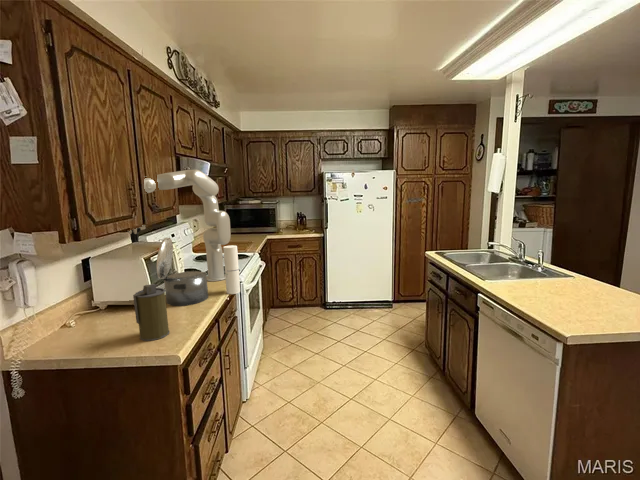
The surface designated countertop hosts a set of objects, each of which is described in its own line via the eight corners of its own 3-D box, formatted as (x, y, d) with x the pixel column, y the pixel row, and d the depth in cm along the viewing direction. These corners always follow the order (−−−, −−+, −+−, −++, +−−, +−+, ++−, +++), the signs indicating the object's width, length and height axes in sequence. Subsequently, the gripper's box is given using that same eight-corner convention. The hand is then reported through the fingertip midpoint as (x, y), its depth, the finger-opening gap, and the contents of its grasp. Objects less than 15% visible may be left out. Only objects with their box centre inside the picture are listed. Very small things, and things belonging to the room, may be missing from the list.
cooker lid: (171, 273, 177) (165, 272, 177) (174, 235, 175) (168, 234, 174) (157, 284, 157) (151, 283, 157) (161, 241, 154) (154, 240, 154)
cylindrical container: (236, 294, 176) (233, 247, 172) (224, 293, 177) (220, 247, 173) (242, 290, 183) (239, 245, 179) (230, 289, 184) (227, 245, 180)
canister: (161, 327, 136) (156, 279, 133) (174, 333, 130) (169, 284, 127) (133, 336, 128) (127, 286, 125) (145, 344, 122) (139, 291, 118)
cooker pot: (174, 293, 181) (172, 271, 179) (212, 290, 184) (210, 269, 182) (159, 309, 157) (156, 284, 155) (202, 305, 160) (200, 281, 158)
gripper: (150, 203, 164) (153, 239, 167) (117, 204, 163) (122, 241, 165) (144, 204, 157) (148, 242, 160) (110, 205, 155) (115, 243, 158)
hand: (135, 241), depth 163 cm, fingers closed
